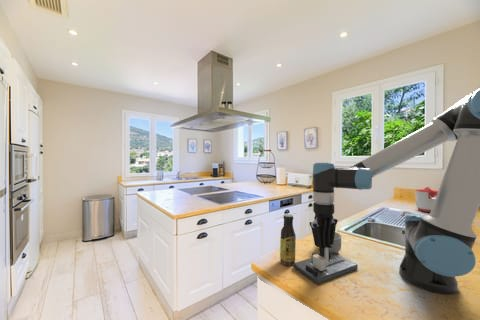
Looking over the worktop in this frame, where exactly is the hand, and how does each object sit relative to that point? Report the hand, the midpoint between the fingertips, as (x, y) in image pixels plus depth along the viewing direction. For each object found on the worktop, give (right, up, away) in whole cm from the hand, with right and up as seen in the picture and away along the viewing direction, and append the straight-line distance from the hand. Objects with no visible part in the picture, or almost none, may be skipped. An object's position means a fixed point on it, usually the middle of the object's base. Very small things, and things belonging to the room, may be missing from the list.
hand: (324, 263), depth 77 cm
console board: (+1, -3, +3) cm, 4 cm away
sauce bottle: (-12, -4, +8) cm, 15 cm away
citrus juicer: (+122, -2, +87) cm, 149 cm away
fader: (-2, -1, -1) cm, 3 cm away
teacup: (+10, -3, +19) cm, 22 cm away
